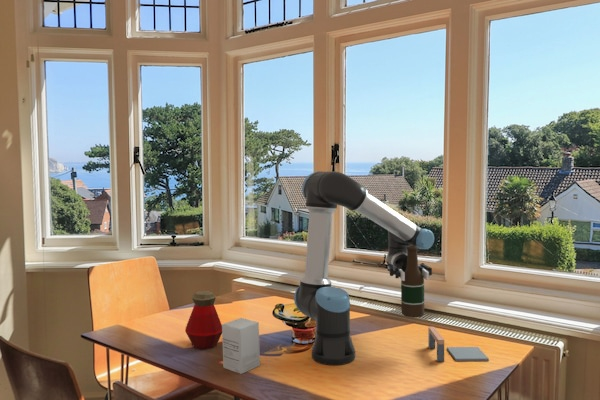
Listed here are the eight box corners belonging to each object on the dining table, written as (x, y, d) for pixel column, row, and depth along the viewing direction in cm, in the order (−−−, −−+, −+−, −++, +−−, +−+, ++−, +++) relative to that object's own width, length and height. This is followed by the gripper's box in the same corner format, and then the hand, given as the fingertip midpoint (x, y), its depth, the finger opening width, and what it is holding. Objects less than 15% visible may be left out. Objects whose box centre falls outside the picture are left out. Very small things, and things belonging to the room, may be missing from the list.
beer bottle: (425, 318, 167) (424, 248, 165) (401, 317, 168) (400, 247, 167) (423, 311, 174) (423, 244, 173) (401, 310, 176) (400, 244, 174)
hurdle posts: (438, 361, 165) (438, 344, 165) (428, 346, 179) (428, 330, 179) (444, 361, 165) (444, 344, 165) (433, 346, 179) (433, 330, 179)
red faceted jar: (177, 344, 186) (176, 292, 185) (207, 335, 196) (206, 286, 194) (201, 355, 175) (199, 299, 174) (231, 345, 184) (230, 292, 183)
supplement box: (242, 359, 170) (240, 317, 169) (260, 365, 165) (259, 321, 164) (222, 367, 163) (221, 323, 162) (241, 374, 158) (239, 328, 157)
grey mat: (455, 361, 165) (455, 358, 165) (446, 349, 176) (446, 347, 176) (488, 360, 165) (488, 358, 165) (477, 349, 176) (477, 346, 176)
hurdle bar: (438, 344, 165) (438, 339, 165) (428, 330, 179) (428, 326, 179) (444, 344, 165) (444, 339, 165) (433, 330, 179) (433, 326, 179)
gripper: (429, 272, 188) (445, 287, 165) (376, 273, 189) (385, 288, 166) (429, 253, 188) (445, 265, 165) (376, 254, 188) (385, 266, 165)
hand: (415, 276), depth 165 cm, fingers closed on beer bottle, 7 cm apart
